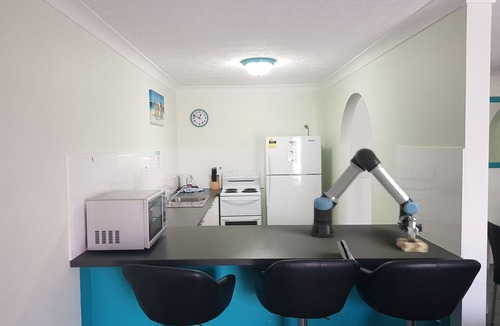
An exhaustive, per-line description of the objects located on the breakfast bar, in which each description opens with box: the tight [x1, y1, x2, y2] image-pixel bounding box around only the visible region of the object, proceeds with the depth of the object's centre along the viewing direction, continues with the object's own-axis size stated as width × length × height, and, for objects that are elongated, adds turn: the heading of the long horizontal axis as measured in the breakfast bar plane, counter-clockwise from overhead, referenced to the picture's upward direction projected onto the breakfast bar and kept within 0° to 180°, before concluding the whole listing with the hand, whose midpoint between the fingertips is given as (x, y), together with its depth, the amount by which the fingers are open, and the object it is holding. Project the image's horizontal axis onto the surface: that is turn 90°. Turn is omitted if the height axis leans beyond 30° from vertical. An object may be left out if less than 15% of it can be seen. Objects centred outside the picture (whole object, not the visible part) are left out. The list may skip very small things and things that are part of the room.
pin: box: [407, 216, 418, 243], centre depth 181 cm, size 5×5×15 cm
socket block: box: [396, 237, 429, 253], centre depth 182 cm, size 12×12×4 cm
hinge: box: [336, 239, 355, 260], centre depth 164 cm, size 17×5×10 cm, turn 173°
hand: (413, 231), depth 176 cm, fingers closed on pin, 3 cm apart
